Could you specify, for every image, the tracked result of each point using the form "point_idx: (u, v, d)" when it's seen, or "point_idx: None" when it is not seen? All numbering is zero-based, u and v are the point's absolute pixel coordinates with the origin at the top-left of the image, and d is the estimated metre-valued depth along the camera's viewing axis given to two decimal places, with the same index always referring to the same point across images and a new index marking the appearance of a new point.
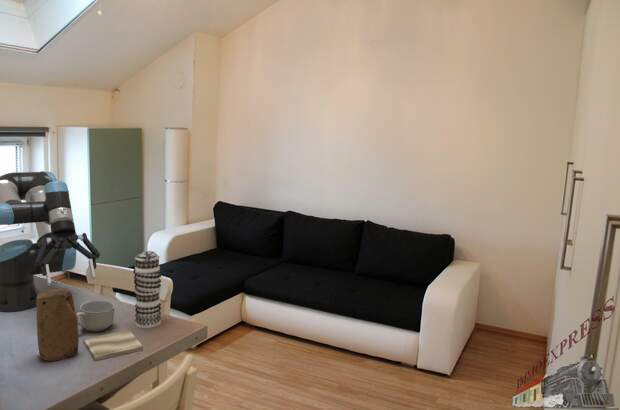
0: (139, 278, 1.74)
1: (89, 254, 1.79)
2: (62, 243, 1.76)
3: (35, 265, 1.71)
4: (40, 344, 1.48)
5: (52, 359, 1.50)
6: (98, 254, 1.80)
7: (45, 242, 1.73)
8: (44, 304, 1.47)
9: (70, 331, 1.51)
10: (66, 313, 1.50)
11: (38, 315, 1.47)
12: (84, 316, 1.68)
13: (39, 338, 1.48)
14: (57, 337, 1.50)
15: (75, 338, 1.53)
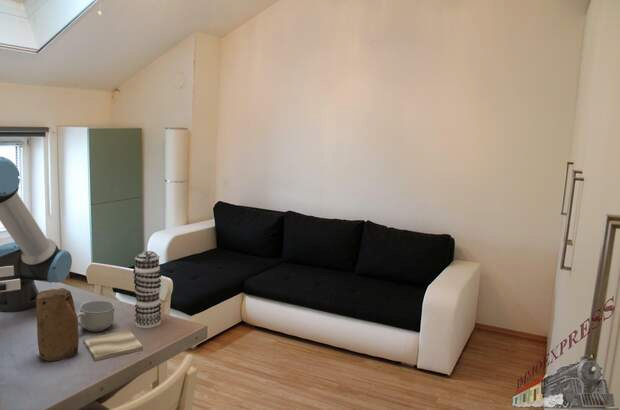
0: (139, 278, 1.74)
1: None
2: None
3: None
4: (40, 344, 1.48)
5: (52, 359, 1.50)
6: None
7: None
8: (44, 304, 1.47)
9: (70, 331, 1.51)
10: (65, 313, 1.50)
11: (38, 315, 1.47)
12: (84, 316, 1.68)
13: (39, 338, 1.48)
14: (57, 337, 1.50)
15: (75, 338, 1.53)
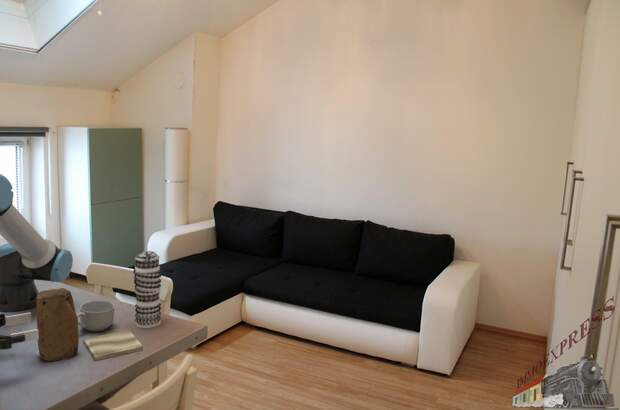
0: (139, 278, 1.74)
1: None
2: None
3: None
4: (40, 344, 1.48)
5: (52, 359, 1.50)
6: None
7: None
8: (44, 304, 1.47)
9: (70, 331, 1.51)
10: (66, 313, 1.50)
11: (38, 315, 1.47)
12: (84, 316, 1.68)
13: (39, 338, 1.48)
14: (57, 337, 1.50)
15: (75, 338, 1.53)
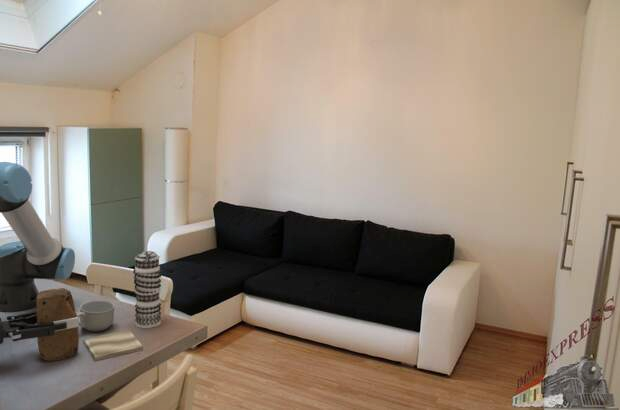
0: (139, 278, 1.74)
1: None
2: None
3: None
4: (40, 344, 1.48)
5: (52, 359, 1.50)
6: None
7: None
8: (44, 304, 1.47)
9: (70, 331, 1.51)
10: (66, 313, 1.50)
11: (38, 315, 1.47)
12: (84, 316, 1.68)
13: (39, 338, 1.48)
14: (57, 337, 1.50)
15: (75, 338, 1.53)
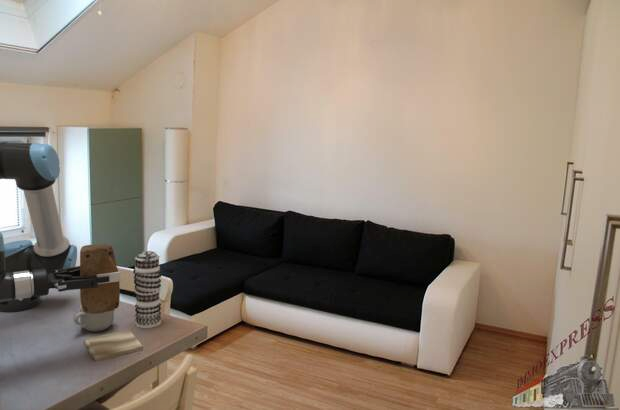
0: (139, 278, 1.74)
1: None
2: None
3: None
4: (83, 297, 1.51)
5: (94, 312, 1.53)
6: None
7: None
8: (88, 257, 1.49)
9: (112, 285, 1.54)
10: (108, 267, 1.52)
11: (82, 268, 1.49)
12: (84, 316, 1.68)
13: (82, 291, 1.50)
14: (100, 291, 1.52)
15: (117, 292, 1.55)
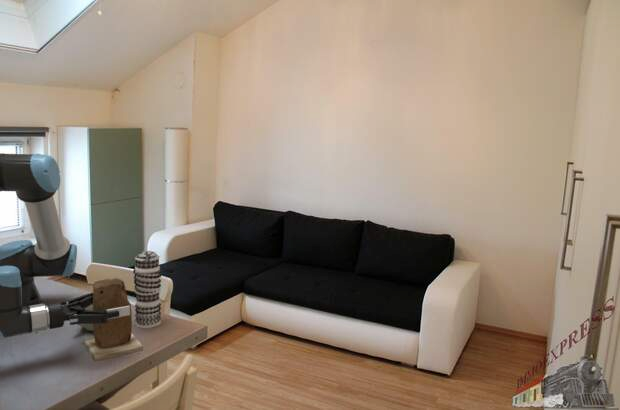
0: (139, 278, 1.74)
1: None
2: None
3: None
4: (97, 331, 1.55)
5: (108, 346, 1.57)
6: None
7: None
8: (101, 293, 1.54)
9: (125, 319, 1.58)
10: (121, 301, 1.57)
11: (96, 304, 1.53)
12: None
13: (96, 326, 1.55)
14: (113, 325, 1.57)
15: (129, 326, 1.59)
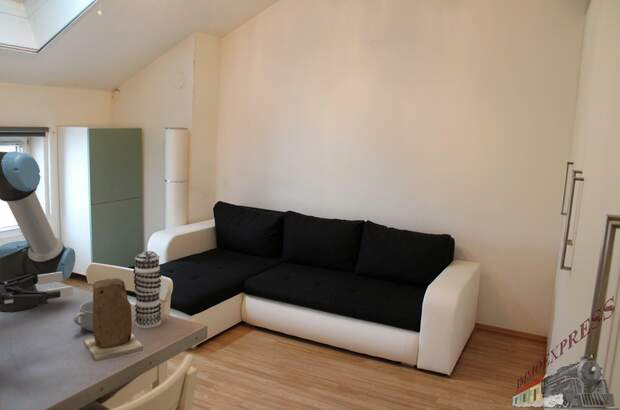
0: (139, 278, 1.74)
1: None
2: None
3: None
4: (97, 331, 1.55)
5: (108, 346, 1.57)
6: None
7: None
8: (102, 293, 1.54)
9: (125, 319, 1.58)
10: (121, 301, 1.57)
11: (96, 303, 1.54)
12: (84, 316, 1.68)
13: (96, 326, 1.55)
14: (113, 325, 1.57)
15: (129, 325, 1.60)
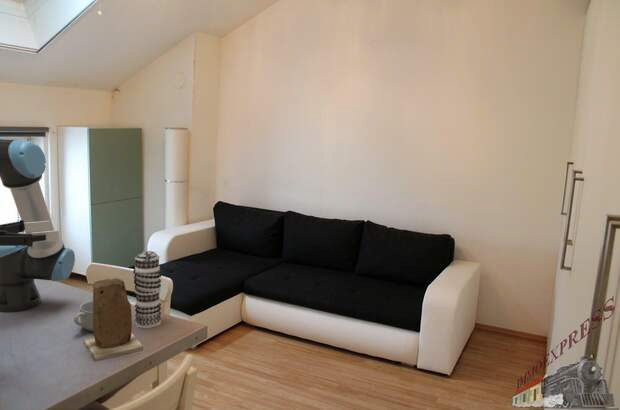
0: (139, 278, 1.74)
1: None
2: None
3: None
4: (97, 331, 1.55)
5: (108, 346, 1.57)
6: None
7: None
8: (102, 293, 1.54)
9: (125, 319, 1.58)
10: (121, 301, 1.57)
11: (96, 303, 1.54)
12: (84, 316, 1.68)
13: (96, 326, 1.55)
14: (113, 325, 1.57)
15: (129, 325, 1.60)
